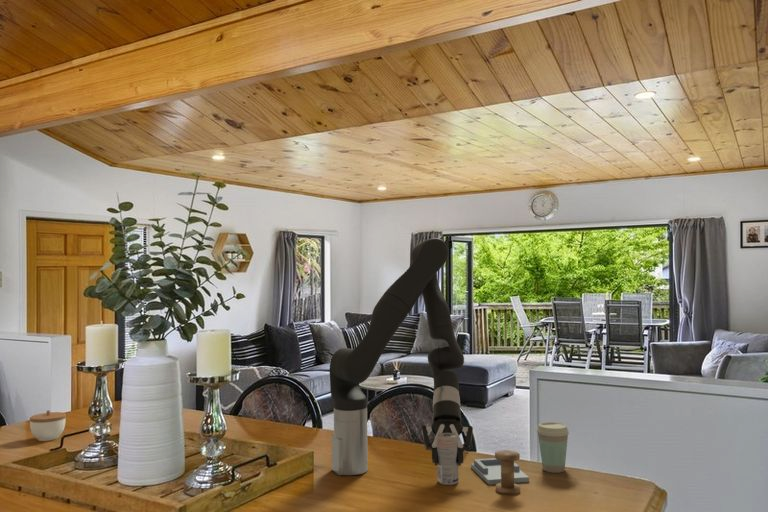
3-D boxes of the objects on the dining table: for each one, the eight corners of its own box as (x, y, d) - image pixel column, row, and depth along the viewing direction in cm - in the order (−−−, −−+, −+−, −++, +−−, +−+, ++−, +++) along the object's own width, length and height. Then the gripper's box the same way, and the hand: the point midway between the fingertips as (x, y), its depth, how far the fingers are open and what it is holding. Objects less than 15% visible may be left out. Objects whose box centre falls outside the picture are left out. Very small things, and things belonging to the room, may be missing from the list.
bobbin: (505, 496, 146) (504, 458, 146) (490, 488, 152) (490, 452, 152) (525, 492, 149) (524, 455, 149) (510, 484, 154) (509, 449, 154)
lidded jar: (72, 437, 207) (72, 409, 207) (40, 444, 198) (40, 415, 198) (55, 433, 212) (55, 406, 213) (23, 440, 203) (23, 412, 204)
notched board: (529, 481, 156) (528, 471, 156) (488, 484, 154) (488, 474, 154) (509, 465, 170) (508, 456, 170) (471, 467, 168) (471, 458, 168)
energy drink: (458, 478, 159) (457, 432, 160) (458, 485, 154) (457, 437, 154) (437, 478, 160) (436, 432, 160) (437, 485, 154) (436, 437, 155)
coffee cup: (570, 466, 169) (569, 422, 169) (569, 475, 161) (568, 429, 161) (538, 463, 171) (537, 420, 172) (536, 472, 163) (535, 427, 164)
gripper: (420, 398, 166) (419, 456, 153) (473, 399, 164) (476, 456, 152) (421, 414, 171) (420, 470, 158) (472, 414, 169) (475, 471, 157)
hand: (447, 463), depth 155 cm, fingers closed on energy drink, 5 cm apart
